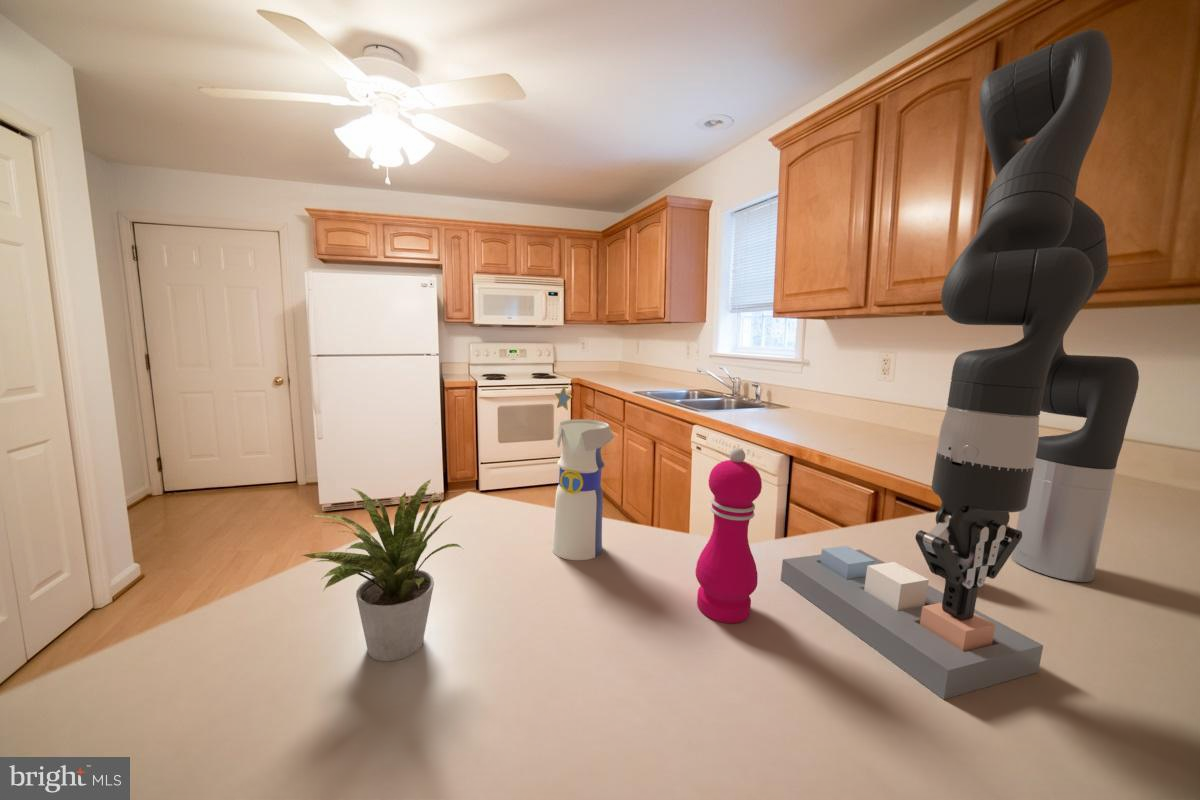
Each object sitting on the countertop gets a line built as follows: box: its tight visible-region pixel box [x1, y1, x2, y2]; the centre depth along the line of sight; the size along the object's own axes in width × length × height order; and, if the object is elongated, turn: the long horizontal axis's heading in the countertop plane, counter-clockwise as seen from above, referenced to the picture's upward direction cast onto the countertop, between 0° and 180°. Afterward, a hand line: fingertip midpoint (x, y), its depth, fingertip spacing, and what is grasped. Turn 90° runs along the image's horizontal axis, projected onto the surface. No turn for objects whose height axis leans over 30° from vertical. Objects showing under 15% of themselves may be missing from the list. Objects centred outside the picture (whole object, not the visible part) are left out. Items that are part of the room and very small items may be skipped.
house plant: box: [301, 479, 464, 662], centre depth 46 cm, size 14×14×16 cm
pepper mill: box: [695, 447, 763, 624], centre depth 54 cm, size 7×7×20 cm
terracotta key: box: [920, 603, 995, 652], centre depth 48 cm, size 4×4×4 cm
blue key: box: [820, 545, 874, 580], centre depth 61 cm, size 4×4×4 cm
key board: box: [780, 549, 1044, 700], centre depth 55 cm, size 14×22×3 cm, turn 19°
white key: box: [864, 561, 929, 611], centre depth 55 cm, size 4×4×4 cm
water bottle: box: [551, 385, 615, 561], centre depth 67 cm, size 8×9×25 cm
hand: (956, 615), depth 48 cm, fingers closed
